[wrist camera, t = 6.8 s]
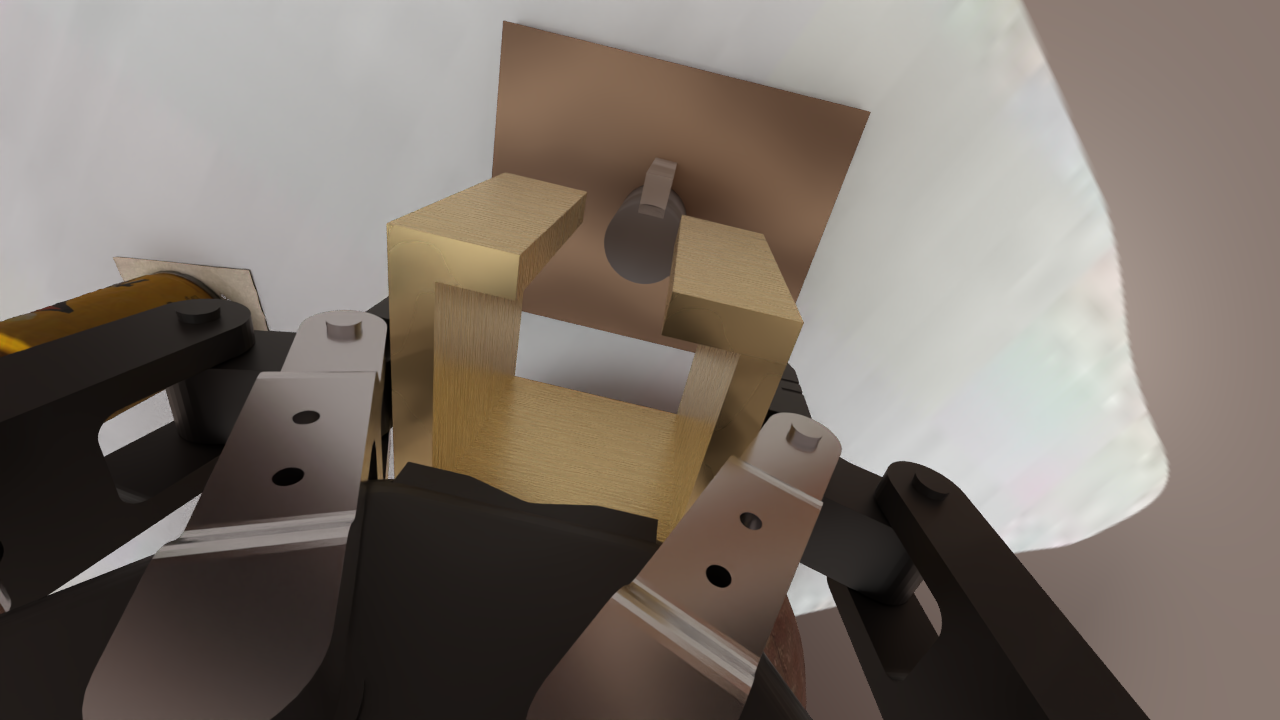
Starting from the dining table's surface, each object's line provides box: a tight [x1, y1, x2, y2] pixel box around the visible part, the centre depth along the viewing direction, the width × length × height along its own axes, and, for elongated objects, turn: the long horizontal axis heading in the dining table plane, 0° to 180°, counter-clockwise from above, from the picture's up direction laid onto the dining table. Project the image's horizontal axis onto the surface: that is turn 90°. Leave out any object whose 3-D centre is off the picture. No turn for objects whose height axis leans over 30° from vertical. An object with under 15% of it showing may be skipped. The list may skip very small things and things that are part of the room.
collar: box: [387, 172, 804, 542], centre depth 11 cm, size 6×6×5 cm
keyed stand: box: [492, 21, 870, 353], centre depth 23 cm, size 13×16×6 cm
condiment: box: [0, 257, 268, 423], centre depth 26 cm, size 7×8×12 cm
